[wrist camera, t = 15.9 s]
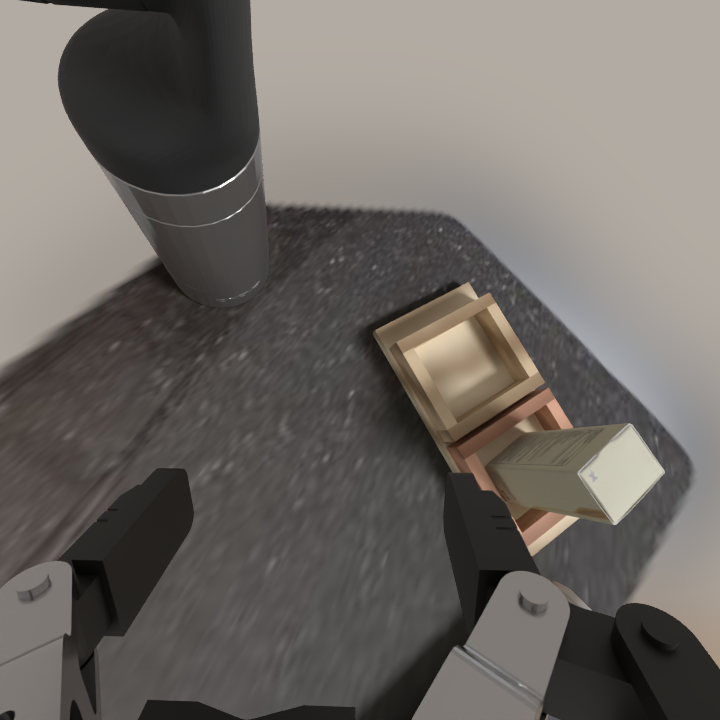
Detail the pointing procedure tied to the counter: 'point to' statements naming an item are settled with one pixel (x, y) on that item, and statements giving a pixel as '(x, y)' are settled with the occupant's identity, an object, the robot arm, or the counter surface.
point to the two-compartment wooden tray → (474, 391)
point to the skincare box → (577, 471)
